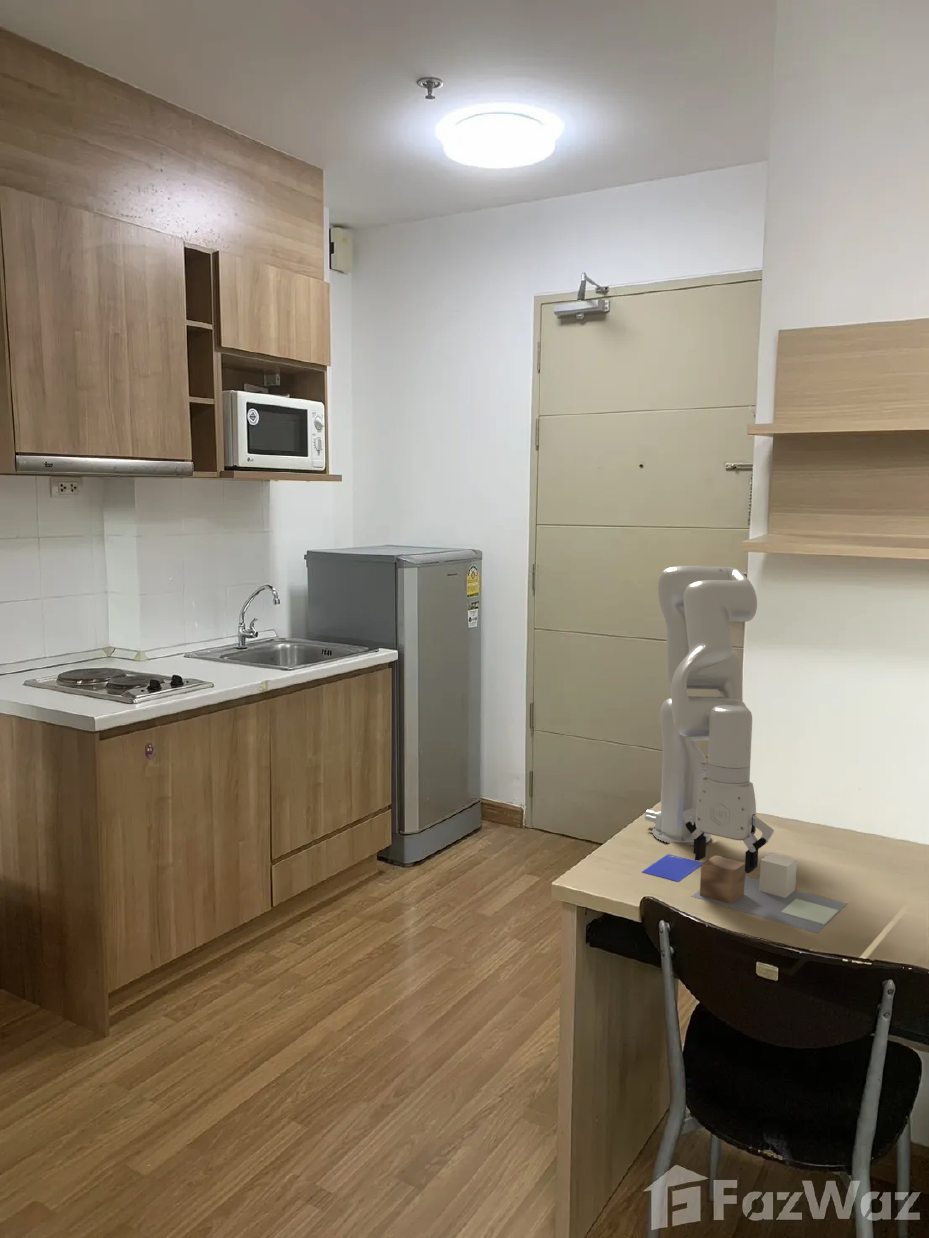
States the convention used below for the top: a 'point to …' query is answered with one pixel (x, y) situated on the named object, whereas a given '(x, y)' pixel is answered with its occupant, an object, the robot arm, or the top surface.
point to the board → (784, 906)
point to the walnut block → (722, 879)
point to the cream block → (778, 875)
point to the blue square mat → (672, 867)
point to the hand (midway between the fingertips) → (724, 864)
